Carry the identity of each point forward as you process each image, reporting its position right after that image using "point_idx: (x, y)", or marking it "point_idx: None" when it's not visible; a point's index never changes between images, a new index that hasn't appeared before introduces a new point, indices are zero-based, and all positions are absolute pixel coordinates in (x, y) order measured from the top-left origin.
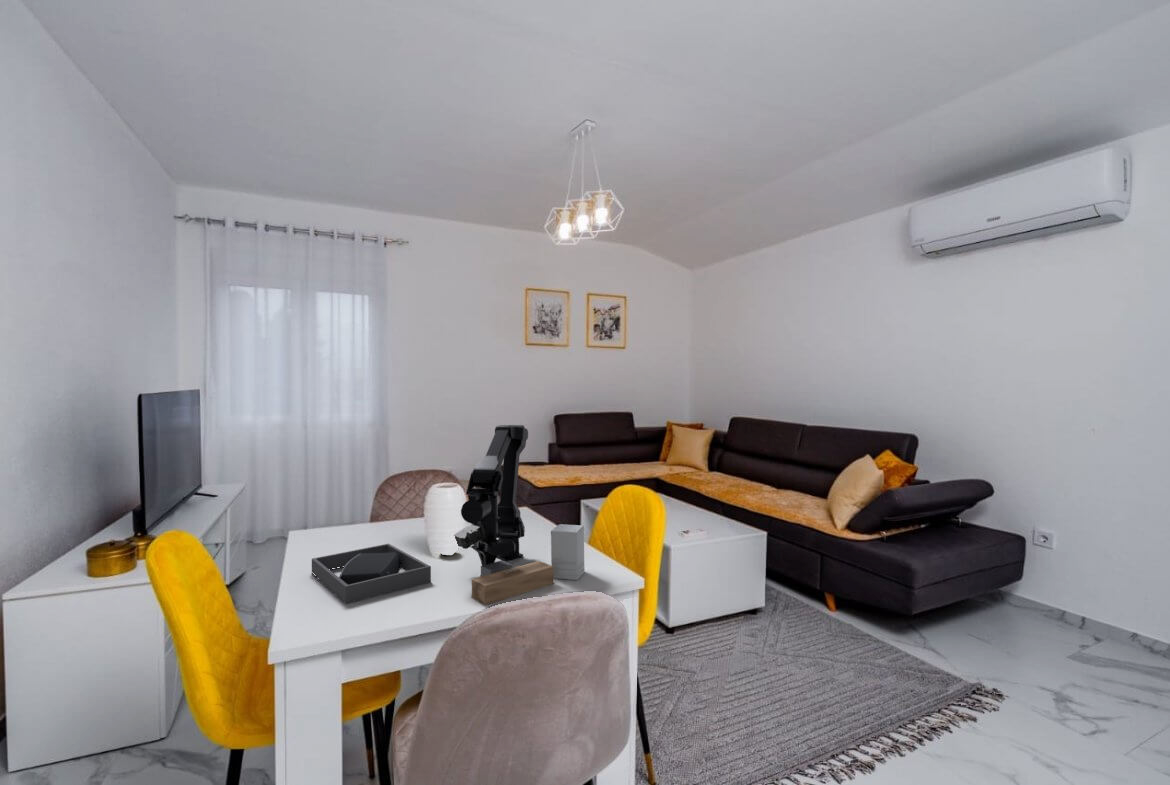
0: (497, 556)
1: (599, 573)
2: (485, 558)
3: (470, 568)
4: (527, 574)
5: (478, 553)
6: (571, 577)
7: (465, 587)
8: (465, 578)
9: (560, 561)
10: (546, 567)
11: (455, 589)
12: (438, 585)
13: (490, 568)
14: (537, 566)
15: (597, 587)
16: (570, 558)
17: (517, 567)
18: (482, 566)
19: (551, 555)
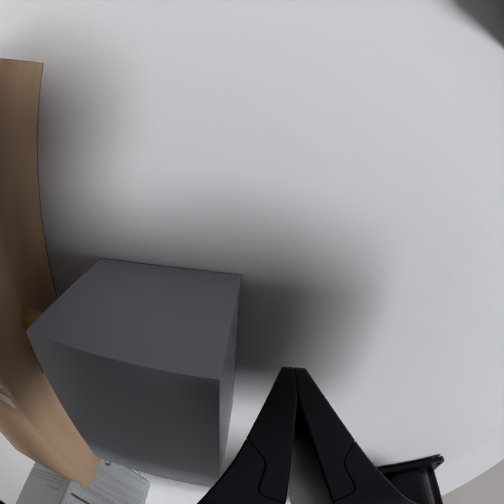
0: (423, 463)
1: None
2: (227, 481)
3: (475, 359)
4: None
5: (393, 496)
6: None
7: (236, 111)
8: (412, 248)
9: (49, 480)
10: (9, 439)
11: (263, 28)
12: (442, 23)
13: (70, 366)
14: (24, 444)
15: None
16: (33, 483)
17: (26, 422)
18: (179, 375)
19: (61, 500)
